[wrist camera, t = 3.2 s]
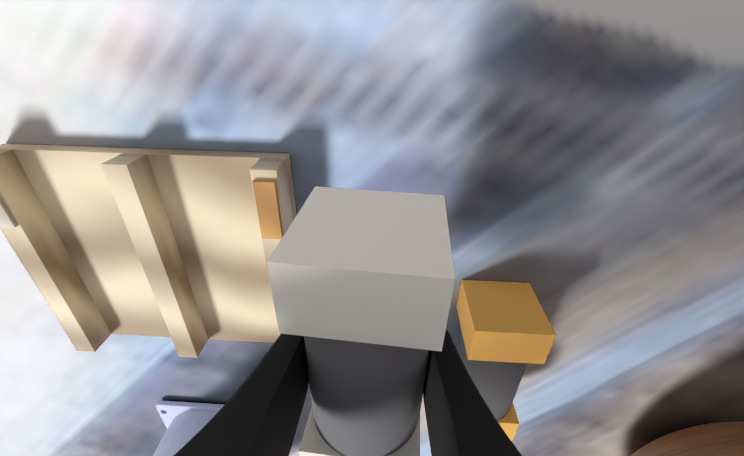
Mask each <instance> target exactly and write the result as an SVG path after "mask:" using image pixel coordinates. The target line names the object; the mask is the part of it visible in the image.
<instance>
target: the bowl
mask: <svg viewBox="0 0 744 456" xmlns="http://www.w3.org/2000/svg"><path fill="white" fill-rule="evenodd" d="M631 456H744V421H734V422H718V423H709V424H703V425H697V426H693V427H689V428H685V429H681V430H678V431H675V432H672V433H669V434H667V435H664V436H662V437H659V438H657V439H655V440H653V441H651V442H650V443H648V444H646V445H645V446H643V447H642V448H640V449H639V450H637V451H636V452H635V453H633V454H632V455H631Z"/></svg>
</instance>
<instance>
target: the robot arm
mask: <svg viewBox="0 0 744 456" xmlns="http://www.w3.org/2000/svg"><path fill="white" fill-rule="evenodd" d="M308 383H309V376H308V367H307V359H306V350H305V341H304V336H299V335H290V334H280V336H279V337H278V338H277V340H276V341H275V343H274V344H273V346H272V347H271V348H270V350H269V351H268V352H267V354H266V355H265V356H264V358H263V359H262V360H261V362H260V363H259V364H258V366H257V367H256V368H255V369H254V371H253V372H252V373H251V375H250V376H249V377H248V378H247V379H246V381H245V382H244V383H243V384H242V385H241V386H240V388H239V389H238V390H237V391H236V392H235V393H234V395H233V396H232V397H231V398H230V399H229V400H228V402H227V403H226V404H209V403H193V402H177V401H159V402H158V404H157V405H156V408H157V410H158V412H159V414H160V416H161V418H162V420H163V422H164V424H165V425H166V427H167V431H166V433H165V434H164V436H163V438H162V440H161V442H160V443H159V445H158V447H157V449H156V451H155V452H154V454H153V456H289V452H290V449H291V446H292V442H293V439H294V435H295V432H296V428H297V425H298V421H299V418H300V415H301V411H302V408H303V404H304V401H305V397H306V393H307V389H308ZM423 397H424V405H425V412H426V419H427V426H428V433H429V440H430V447H431V453H432V456H522V455H521V454H520V452H519V451H518V450H517V448H516V447H515V446H514V444H513V443H512V441H511V440H510V439H509V437H508V436H507V434H506V433H505V432H504V430H503V429H502V427H501V426H500V424H499V423H498V421H497V420H496V418H495V417H494V415H493V413H492V412H491V410H490V409H489V407H488V406H487V404H486V402H485V401H484V399H483V397H482V396H481V394H480V392H479V391H478V389H477V387H476V385H475V384H474V382H473V380H472V378H471V377H470V375H469V373H468V371H467V369H466V367H465V365H464V363H463V361H462V359H461V357H460V355H459V353H458V351H457V349H456V347H455V345H454V343H453V340H452V338H451V336H450V333H449V332H448V331H447V330H446V331H445V337H444V342H443V347H442V351H433V350H430V352H429V359H428V365H427V371H426V377H425V383H424V390H423Z"/></svg>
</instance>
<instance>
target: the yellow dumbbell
mask: <svg viewBox="0 0 744 456" xmlns="http://www.w3.org/2000/svg"><path fill="white" fill-rule="evenodd" d="M456 307H457V312H458V316H459V321H460V326H461V329H460V333H459V338H458V343H457V348H456V349H457V351H458V353H459V355H460V357H461V359H462V361H463V363H464V365H465V367H466V369H467V371H468V373H469V375H470V377H471V378H472V380H473V382H474V384H475V385H476V387H477V389H478V391H479V392H480V394H481V396H482V397H483V399H484V401H485V402H486V404H487V406H488V407H489V409H490V410H491V412H492V413H493V415H494V417H495V418H496V420H497V421H498V423H499V424H500V426H501V427H502V429H503V430H504V432H505V433H506V434H507V436H508V437H509V439H510V440H511V441H512V440H513V438H514V435H515V433H516V431H517V428H518V426H519V421H518V418H517V415H516V412H515V409H514V405H513V399H514V397H515V394H516V391H517V389H518V386H519V383H520V381H521V378H522V375H523V373H524V370H525V368H526V365H527V363H531V364H545V361H546V359H547V357H548V354H549V352H550V350H551V347H552V345H553V342H554V340H555V338H556V333H555V331H554V329H553V328H552V326H551V324H550V322H549V320H548V318H547V316H546V314H545V312H544V310H543V308H542V306H541V304H540V302H539V301H538V299H537V297H536V295H535V293H534V291H533V289H532V287H531V285H530V283H522V282H501V281H480V280H461V285H460V291H459V296H458V301H457V306H456Z"/></svg>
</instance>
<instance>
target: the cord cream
mask: <svg viewBox="0 0 744 456" xmlns="http://www.w3.org/2000/svg"><path fill="white" fill-rule="evenodd" d="M267 266H268V272H269V278H270V283H271V289H272V295H273V301H274V307H275V313H276V319H277V325H278V331H279V333H281V334H290V335H299V336H304V341H305V350H306V359H307V367H308V376H309V385H310V393H311V402H312V406H311V409H310V413H309V416H308V420H307V424H306V427H305V431H304V434H303V438H302V441H301V445H300V448H299V456H420V409H421V402H422V396H423V390H424V383H425V377H426V371H427V365H428V359H429V352H430V350H433V351H442V347H443V342H444V337H445V331H446V326H447V321H448V316H449V310H450V305H451V300H452V294H453V289H454V284H455V273H454V266H453V259H452V251H451V244H450V236H449V229H448V222H447V214H446V207H445V199H444V195H430V194H416V193H402V192H388V191H374V190H360V189H346V188H332V187H318V186H315V187H314V189H313V191H312V192H311V194H310V195H309V197H308V198H307V200H306V202H305V203H304V205H303V206H302V208H301V209H300V211H299V212H298V214H297V216H296V217H295V219H294V220H293V222H292V223H291V225H290V227H289V228H288V230H287V231H286V233H285V234H284V236H283V237H282V239H281V241H280V242H279V244H278V245H277V247H276V248H275V250H274V252H273V253H272V255H271V256H270V258H269V259H268V261H267Z"/></svg>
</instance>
